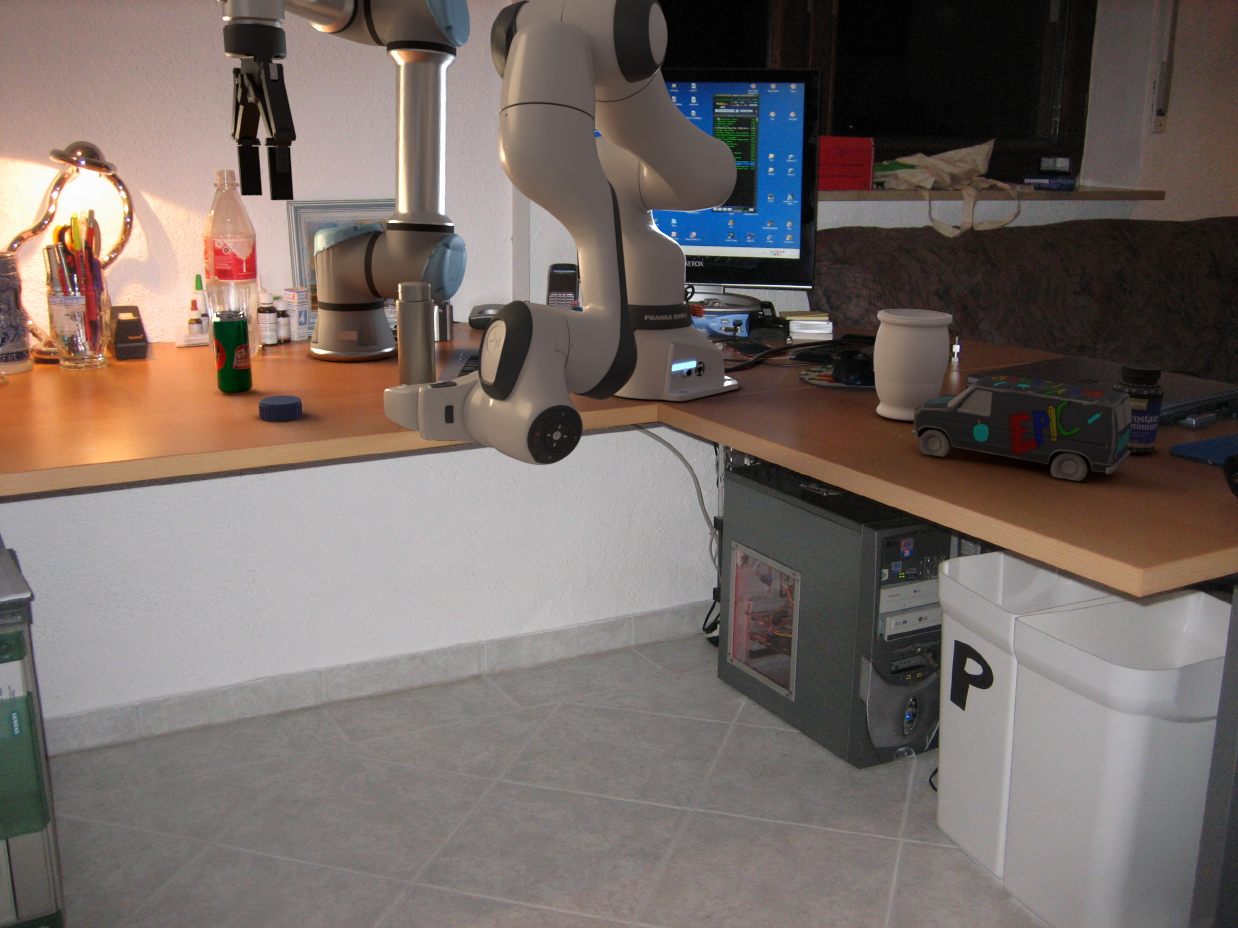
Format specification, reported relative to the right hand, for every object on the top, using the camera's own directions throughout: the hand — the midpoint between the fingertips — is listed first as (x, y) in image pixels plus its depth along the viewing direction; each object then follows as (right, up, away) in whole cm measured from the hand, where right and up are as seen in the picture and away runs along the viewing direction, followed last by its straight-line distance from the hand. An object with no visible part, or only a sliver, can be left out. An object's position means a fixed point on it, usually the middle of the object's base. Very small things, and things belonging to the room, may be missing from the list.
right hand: (439, 386), depth 141 cm
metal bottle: (-4, -4, +7) cm, 10 cm away
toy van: (+74, -10, -6) cm, 75 cm away
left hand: (-23, +25, 0) cm, 34 cm away
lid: (-23, -2, +8) cm, 25 cm away
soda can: (-35, +1, +23) cm, 42 cm away
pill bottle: (+91, -8, 0) cm, 91 cm away
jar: (+66, -3, +16) cm, 68 cm away
